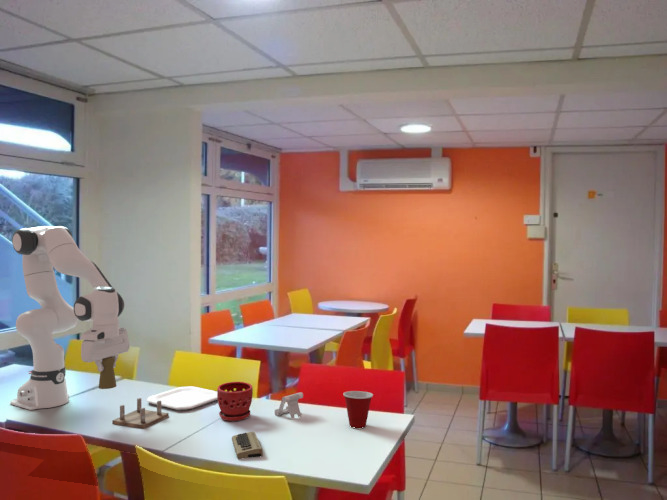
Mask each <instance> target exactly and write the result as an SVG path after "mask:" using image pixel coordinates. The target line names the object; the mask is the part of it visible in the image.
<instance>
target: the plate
mask: <svg viewBox="0 0 667 500" xmlns="http://www.w3.org/2000/svg"><path fill="white" fill-rule="evenodd" d="M157 401H161V407H162V408H168V409H172V410H174V411H190V410H192V409H196V408H199V407H202V406H205V405H207V404H210V403H213V402H215V401H218V398H217V390H216V391H215V390H212V389H207V388H202V387H198V386H193V385H190V386H189V385H188V386H179V387H175V388H172V389H170V390H166V391H162V392H160V393H157V394H153V395H150V396H148V397H147V399H146V402H147V403H149V404H153V405H154V406H157Z"/></svg>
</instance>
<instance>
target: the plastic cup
mask: <svg viewBox="0 0 667 500" xmlns="http://www.w3.org/2000/svg"><path fill="white" fill-rule="evenodd" d="M373 396H374V394H373V393H372V392H368V391H360V390H350V391H345V392H343V397H344V400H345V401H344V402H345V405H346V411H347V417H348V423H349V427H350V426H351V427H350V428H352V427H355V428H362V427H365V426H367V423H368V422H367V420H368V417H369V410H370V406H371V405H370V404H371V402H372V398H373ZM355 428H354V429H355ZM365 428H366V427H365ZM362 429H363V428H362Z"/></svg>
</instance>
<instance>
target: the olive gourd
mask: <svg viewBox="0 0 667 500" xmlns="http://www.w3.org/2000/svg"><path fill="white" fill-rule="evenodd" d="M101 363H102V366H104V371H101V372H100V373H99V382H98V389H99V390H107V389H108V390H110V389H114V388H116V387H117V380H116V375H115V367H113V365H114V363H115V359H114V357H112V356H111V357H108V358H104V359H102V362H101Z"/></svg>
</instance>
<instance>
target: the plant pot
mask: <svg viewBox="0 0 667 500" xmlns="http://www.w3.org/2000/svg"><path fill="white" fill-rule="evenodd" d="M234 389H235V390H234ZM253 389H254V387H253V385H252V384H251V383H248V382H244V381H230V382H224V383H221V384H219V385H218V386H217V390H216V391H217V398H218V399H217V404H218V408H219V409H220V410H219V412H218V415H219V417H220V418H221V419H223V420H225V421H230V422H236V421H238V422H239V421H243V420H246V419H247V418H248V417H249V416H250V415H251V410H250V408H251V405H252V402H253V391H254V390H253Z"/></svg>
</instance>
